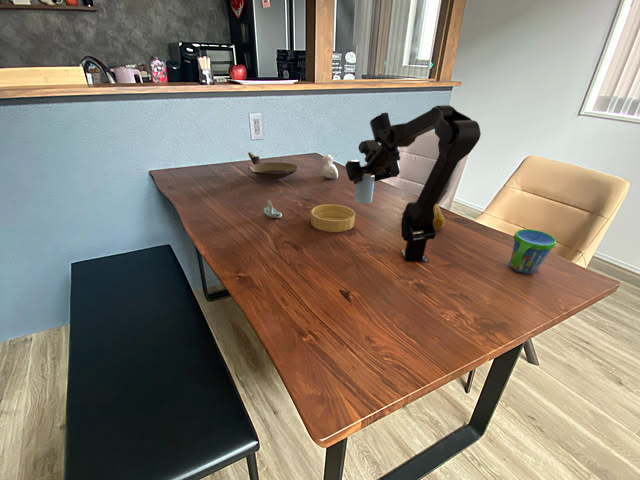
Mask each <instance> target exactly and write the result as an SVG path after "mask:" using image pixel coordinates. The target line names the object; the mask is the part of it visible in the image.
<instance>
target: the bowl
mask: <svg viewBox="0 0 640 480" xmlns="http://www.w3.org/2000/svg"><path fill="white" fill-rule="evenodd" d="M355 221H356V212H355V210H353V209H352V208H350V207H348V206H345V205H341V204H321V205H316V206H315V207H313V208H311V211H310V225H311V226H312V227H313V228H314V229H317V230H320V231H322V232H328V233H329V232H330V233H339V232H346V231H350V230H351V229H352V228H354V227H355V223H356V222H355Z"/></svg>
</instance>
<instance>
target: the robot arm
mask: <svg viewBox="0 0 640 480" xmlns="http://www.w3.org/2000/svg"><path fill="white" fill-rule="evenodd" d="M369 125H370V129H371V133H372V136H373V139H366V140H363V141H361V142H359V144H358V151H359V153H360V154H364V156H365V157H364V162H365V164H366V166H364V165H363V166H362V165H361V162H360V161H359V159H352V160H347V162H346V163H345V164H344V166H345V170H346V175H347V178H348V180H349V181H350V182H352V183H353V184H354V185H355V184H357V183H359V182H361V181H363V178H362V176H364V174H370V175H375V180H374V183H376V182H379V181H382V180H386V179H390V178H397V177H398V176H399V175H400V174H401V168H400V165H399V161H400V160H401V152H400V148H407V147H409V146H411V145H412V144H413V143H414V142H415V141H416V139H417V138H418V137H420V136H422V135H424V134H426V133H428V132H431V131H433V130H434V135H436V137H437V138H438V142H437V146H438V147H437V148H438V157H437V158H436V161H435V162H434V165H433V167H432V169H431V171H430V172H429V175H428V177H427V179H426V182H425V184H424V186H423V188H422V190H421V192H420V193H419V196H418V198H417V199H416V201H413V202H408V203H407V204H406V205H405V209H404V211H403V212H402V213H401V215H402V217H401V221H400V228H401V229H400V231H401V233H400V234H401V238H402V240H403V241H405V242H406V244H405V249H402V250H401V252H400V253H401V254H402V257H403V259H404V261H405V262H428V258H427V256H426V255H425V252H426V248H427V243H428V240H434V239H436V236H437V235H438V234H437V230H435V227H434V223H433V219H434V216H435V215H434V206H435V204H437V202H438V200H440V199H439V198H440V197H441V195H442V193H443V191H444V189H445V188H446V185H447V184H448V182H449V180H450V178H451V176H452V174H453V173H454V171H455V168H456V167H457V165H458V163H459V162H461V160H463V159H464V158H465V157H466V156H468V155H469V154H470V153H471V152H472V151H473V150H474V148H475V146H476V145H477V144H478V142H479V141H480V139H481V135H482V133H481V128H480V124H479V123H478V121H476V120H472V119H471V118H470V117H469V116H467V115H466V114H463V113H461V112H460V111H458V110H457V109H455V107H453V106H451V105H449V104H448V105H447V104H445V105H443V104H442V105H441V104H440V105H435V106H433V107H432V108H431V109H430V110H428V111H426V112H424V113H422V114H420V115H418V116H416V117H415V118H413V119H411V120H409V121H408V122H404V123H397V124H392V123H391V121H390V116H389V112H381V113H380V114H379V115H377V116H375V117H373V118H372V119H371V120H370V122H369Z"/></svg>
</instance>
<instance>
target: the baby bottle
mask: <svg viewBox="0 0 640 480" xmlns="http://www.w3.org/2000/svg"><path fill="white" fill-rule="evenodd" d="M366 164H367V163H365V164H364V165H363V166H366ZM362 178H363V181H361V182H359V183H357V184H354V192H353V202H355V203H357V204H364V205H366V204H371V203H372V202H373V196H374V188H375V182H374V180H375V175H370V174H364V176H362Z"/></svg>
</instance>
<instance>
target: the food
mask: <svg viewBox="0 0 640 480" xmlns="http://www.w3.org/2000/svg"><path fill="white" fill-rule="evenodd" d="M434 215H435V216H434V219H433V223H434V227H435V230H436V231H438V230H441V229H442V228H443V227H444V226H445V223H446V221H445V216H444V214H443V212H442V210H441V208H440V205H438V204H437V203H436V204H435V206H434Z"/></svg>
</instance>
